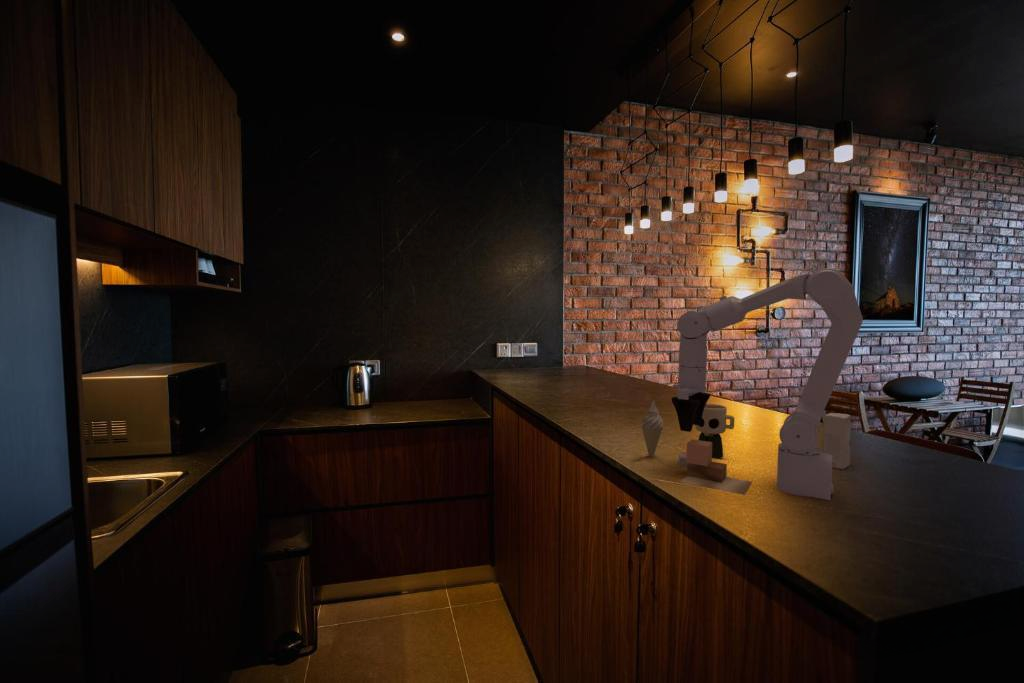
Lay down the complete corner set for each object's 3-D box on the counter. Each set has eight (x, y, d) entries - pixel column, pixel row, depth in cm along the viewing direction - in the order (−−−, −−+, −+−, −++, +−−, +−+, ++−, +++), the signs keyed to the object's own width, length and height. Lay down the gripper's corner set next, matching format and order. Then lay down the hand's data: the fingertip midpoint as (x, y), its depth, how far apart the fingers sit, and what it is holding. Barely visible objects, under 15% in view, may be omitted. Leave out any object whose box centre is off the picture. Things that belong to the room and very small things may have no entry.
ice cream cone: (657, 464, 114) (659, 401, 113) (637, 460, 117) (638, 399, 116) (665, 459, 118) (666, 399, 117) (645, 456, 121) (646, 396, 120)
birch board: (752, 486, 100) (752, 481, 99) (744, 499, 92) (744, 494, 92) (692, 475, 106) (692, 470, 106) (680, 486, 99) (680, 481, 99)
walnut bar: (726, 476, 102) (726, 464, 102) (721, 482, 99) (722, 469, 99) (692, 470, 106) (692, 458, 106) (686, 476, 103) (687, 463, 103)
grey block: (696, 467, 113) (697, 454, 112) (698, 472, 109) (698, 459, 109) (678, 465, 114) (679, 453, 113) (679, 470, 110) (680, 457, 110)
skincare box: (844, 470, 111) (846, 418, 111) (821, 465, 114) (823, 415, 114) (850, 464, 115) (852, 414, 115) (828, 460, 119) (830, 411, 118)
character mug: (682, 456, 120) (684, 405, 120) (691, 450, 126) (693, 401, 125) (729, 465, 114) (730, 411, 113) (736, 458, 119) (738, 406, 119)
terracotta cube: (711, 461, 104) (712, 442, 104) (707, 466, 100) (707, 446, 100) (691, 458, 106) (692, 439, 106) (686, 462, 103) (686, 443, 103)
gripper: (682, 362, 114) (681, 419, 115) (664, 367, 102) (662, 431, 103) (714, 364, 110) (712, 423, 111) (698, 370, 98) (696, 436, 99)
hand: (690, 427), depth 106 cm, fingers open, 7 cm apart
